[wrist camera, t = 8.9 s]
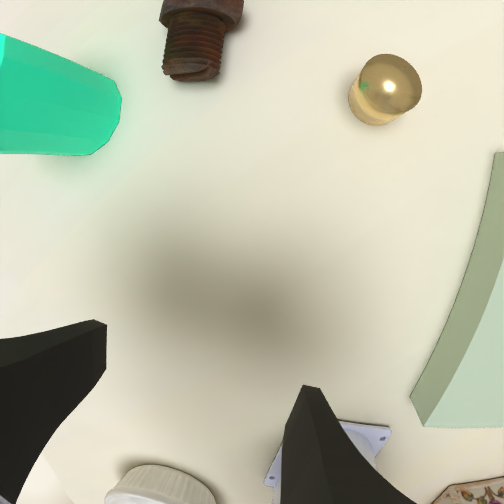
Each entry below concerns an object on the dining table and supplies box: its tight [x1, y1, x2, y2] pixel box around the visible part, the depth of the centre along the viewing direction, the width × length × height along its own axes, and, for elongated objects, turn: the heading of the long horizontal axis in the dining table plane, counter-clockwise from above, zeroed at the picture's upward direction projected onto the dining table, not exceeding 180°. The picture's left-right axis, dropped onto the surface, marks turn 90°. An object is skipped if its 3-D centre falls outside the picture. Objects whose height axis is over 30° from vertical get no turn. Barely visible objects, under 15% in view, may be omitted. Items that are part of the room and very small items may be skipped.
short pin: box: [349, 54, 422, 126], centre depth 14 cm, size 3×3×4 cm
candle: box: [0, 33, 122, 156], centre depth 12 cm, size 6×6×12 cm
